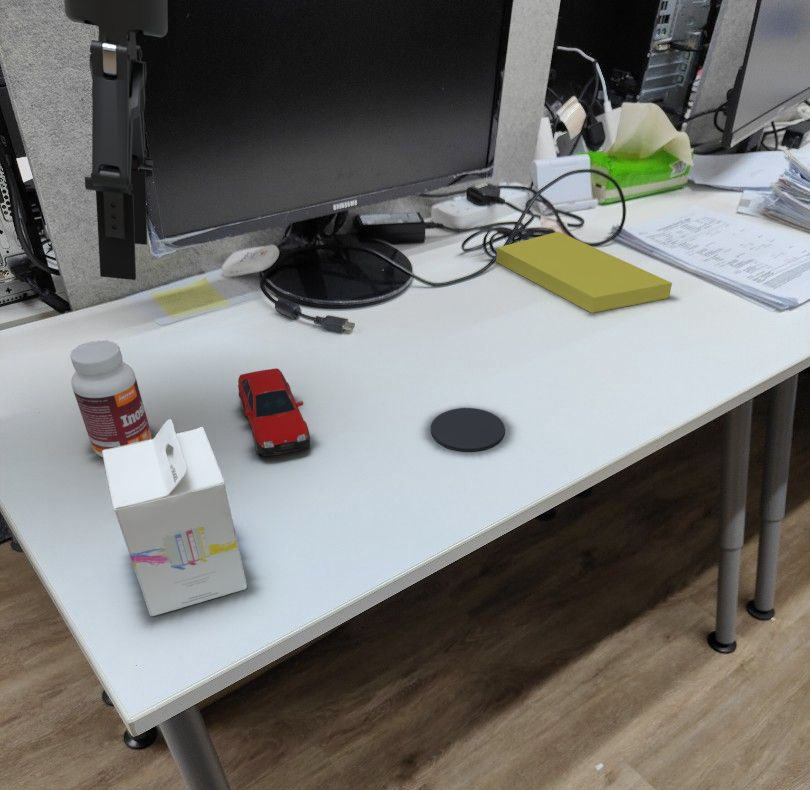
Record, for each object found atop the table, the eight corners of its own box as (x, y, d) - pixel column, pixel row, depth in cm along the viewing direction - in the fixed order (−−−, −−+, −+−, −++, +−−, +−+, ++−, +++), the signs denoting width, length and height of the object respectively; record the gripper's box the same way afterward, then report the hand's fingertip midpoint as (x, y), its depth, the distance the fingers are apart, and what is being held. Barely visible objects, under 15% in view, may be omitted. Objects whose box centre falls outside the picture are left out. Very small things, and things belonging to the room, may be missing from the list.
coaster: (417, 423, 84) (417, 420, 84) (477, 403, 87) (477, 400, 87) (456, 460, 79) (456, 456, 78) (519, 437, 82) (519, 434, 81)
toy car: (258, 467, 78) (250, 426, 75) (235, 398, 89) (227, 360, 85) (318, 454, 80) (313, 413, 77) (289, 388, 90) (283, 350, 87)
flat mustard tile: (496, 261, 118) (603, 319, 102) (497, 247, 116) (606, 304, 101) (557, 245, 122) (668, 298, 107) (558, 231, 121) (672, 282, 105)
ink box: (134, 555, 69) (91, 429, 60) (226, 529, 71) (198, 405, 62) (150, 619, 63) (105, 491, 54) (249, 589, 65) (222, 462, 56)
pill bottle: (142, 462, 79) (113, 367, 72) (84, 460, 80) (50, 366, 73) (160, 429, 84) (135, 337, 77) (106, 428, 84) (76, 336, 77)
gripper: (158, -36, 48) (162, 300, 59) (173, -12, 69) (174, 235, 80) (29, -62, 46) (57, 290, 57) (84, -29, 67) (98, 226, 78)
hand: (125, 259), depth 69 cm, fingers open, 13 cm apart
